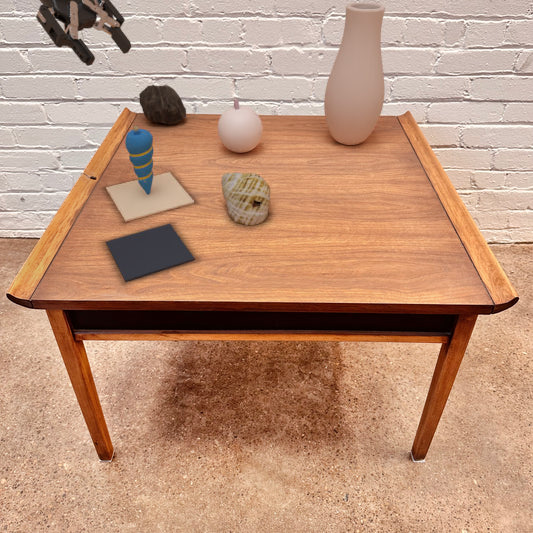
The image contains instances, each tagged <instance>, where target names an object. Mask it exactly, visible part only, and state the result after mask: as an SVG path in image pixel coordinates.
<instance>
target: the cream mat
mask: <svg viewBox="0 0 533 533" xmlns="http://www.w3.org/2000/svg"><path fill="white" fill-rule="evenodd" d="M105 189H106V191H107V193H108V195H109V196H110V199H111V200H112V201H113V203H114V205H115V207H116V208H117V210H118V212H119V213H120V215H121V216H122V219H123V220H124V221H125V222H126V223H127V222H131V221H134V220H137V219H142V218H145V217H149V216H152V215H156V214H159V213H164V212H168V211H171V210H175V209H178V208H182V207H186V206H189V205H193V204H195V201H194V199H193V198H192V197H191V196H190V195H189V193H188V192H187V191H186V190H185V188H184V187H183V186H182V185H181V184H180V183H179V181H178V180H177V179H176V178H175V176H173V174H172V173H171V172H170V171H167V172H164V173H160V174H159V173H158V174H156V175H153V181H152V186H151V191H150V194H146V192H145V191H144V189H143V188H142V187H141V186H140V184H139V183H138V179H135V180H131V181H127V182H123V183H118V184H114V185H109V186H106V187H105Z"/></svg>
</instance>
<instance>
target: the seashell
mask: <svg viewBox="0 0 533 533" xmlns="http://www.w3.org/2000/svg"><path fill="white" fill-rule="evenodd" d="M220 183H221V190H222V196H223V199H224V200H225V203H226V208H227V212H228V215H229V216H230V219H232V221H233V222H235V223H237V224H243V225H245V226H254V225H255V226H256V225H258V224H261V223H263V222H264V221H266V219H267V218H268V216H269V209H270V205H271V187H270V185H269V184H268V182H267V181H266V180H265V178H263V177H262V176H261V175H260V174H257V173H252V172H250V173H249V172H246V173H243V172H227V173H223V174H222V175H221V180H220ZM254 204H255V205H256V206H253V205H254Z"/></svg>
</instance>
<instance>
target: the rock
mask: <svg viewBox="0 0 533 533" xmlns="http://www.w3.org/2000/svg"><path fill="white" fill-rule="evenodd" d="M138 96H139V99H138V100H139V105H140V107H141V109H142V113H143V116H144V118H146V119H147V120H149V121H150V122H153V123H154V124H160V123H161V124H164V125H176V124H177V123H179V122H181V121H183V120H184V119H186V118H187V108H186V107H185V105H184V102H183V100H182V97H180V95H179V94H178V93H177V91H176V90H175V89H174V88H173V87H171V86H169V85H155V84H152V85H147V86H146V87H145V88H144V89H143V90H141V92H140V93H139V94H138Z"/></svg>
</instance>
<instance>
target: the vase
mask: <svg viewBox="0 0 533 533" xmlns="http://www.w3.org/2000/svg"><path fill="white" fill-rule="evenodd" d="M385 11H386V7H385V5H383V4H380V3H375V2H367V1H366V2H365V1H357V2H351V3H347V4H346V6H345V19H344V29H343V32H342V33H343V34H342V38H341V41H340V44H339V48H338V51H337V53H336V56H335V60H334V62H333V65H332V68H331V71H330V73H329V76H328V78H327V83H326V87H325V91H324V97H323V98H324V100H323V103H324V104H323V107H324V116H325V117H324V118H325V121H326V125H327V128H328V131H329V134H330V136H331V137H332V138H333V140H335V141H336V142H337V143H340V144H342V145H347V146H356V145H359V144H361V143H363V142H365V141H366V140H367V139H368V138H369V136H370V135H371V134H372V132H373V131H374V129H375V127H376V126H377V124H378V122H379V119H380V116H381V114H382V111H383V107H384V102H385V76H384V66H383V56H382V41H381V38H382V27H383V21H384V20H383V19H384V15H385Z"/></svg>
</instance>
